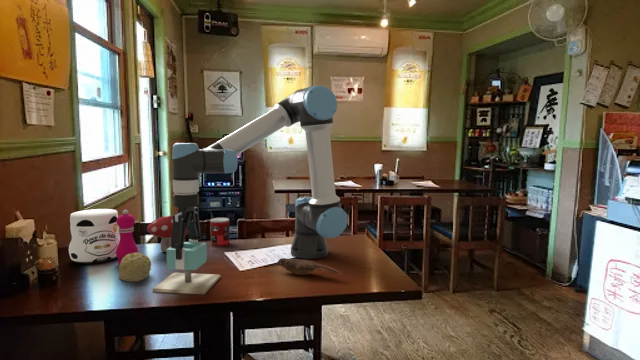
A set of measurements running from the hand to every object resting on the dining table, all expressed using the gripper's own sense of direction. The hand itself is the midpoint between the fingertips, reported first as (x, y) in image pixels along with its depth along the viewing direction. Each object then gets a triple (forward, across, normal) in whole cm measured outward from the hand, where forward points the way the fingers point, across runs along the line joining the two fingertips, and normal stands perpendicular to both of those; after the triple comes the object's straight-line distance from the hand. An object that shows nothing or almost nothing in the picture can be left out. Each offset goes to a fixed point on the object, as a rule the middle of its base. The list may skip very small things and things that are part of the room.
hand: (187, 263), depth 124 cm
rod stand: (+7, 0, 0) cm, 7 cm away
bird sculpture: (+7, -13, +36) cm, 39 cm away
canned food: (+7, -46, -6) cm, 47 cm away
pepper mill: (+7, -16, -30) cm, 35 cm away
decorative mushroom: (+7, -32, -22) cm, 39 cm away
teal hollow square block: (0, 0, 0) cm, 0 cm away
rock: (+7, -4, -20) cm, 22 cm away
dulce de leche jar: (+7, -19, -44) cm, 48 cm away
